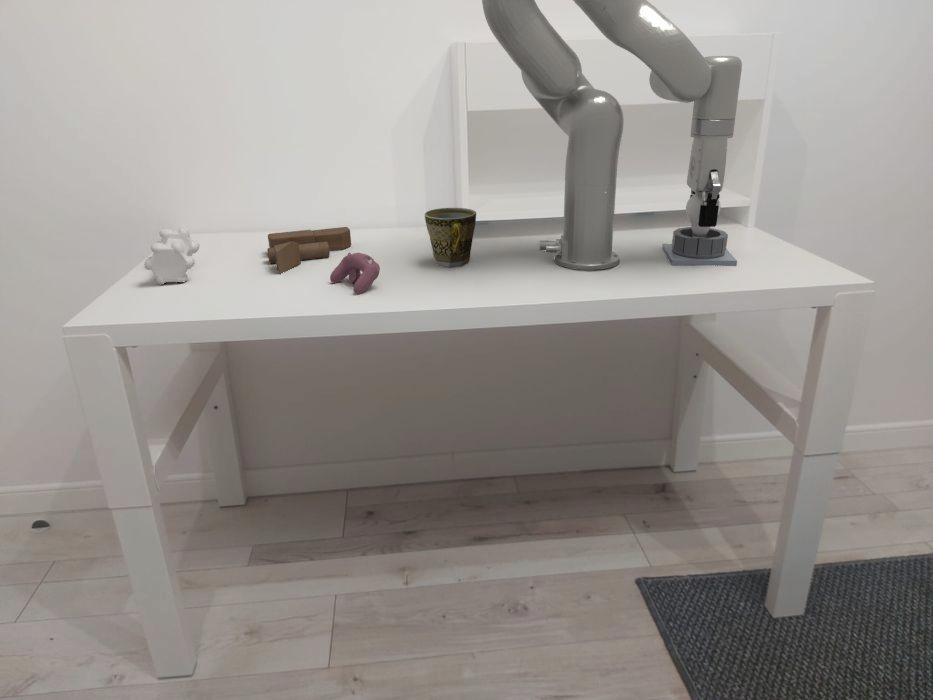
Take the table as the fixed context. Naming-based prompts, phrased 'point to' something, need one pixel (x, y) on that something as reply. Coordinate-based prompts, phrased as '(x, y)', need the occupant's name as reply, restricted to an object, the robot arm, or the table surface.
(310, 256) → the wooden block set
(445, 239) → the ceramic cup
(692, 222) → the lightbulb
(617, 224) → the table surface
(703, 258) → the socket
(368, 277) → the video game controller
